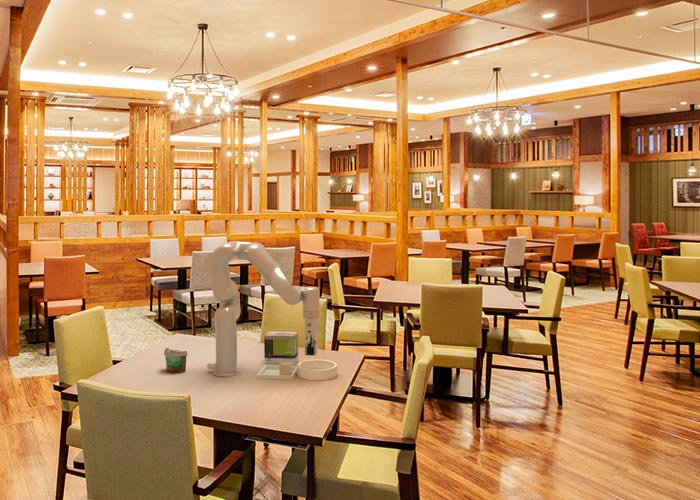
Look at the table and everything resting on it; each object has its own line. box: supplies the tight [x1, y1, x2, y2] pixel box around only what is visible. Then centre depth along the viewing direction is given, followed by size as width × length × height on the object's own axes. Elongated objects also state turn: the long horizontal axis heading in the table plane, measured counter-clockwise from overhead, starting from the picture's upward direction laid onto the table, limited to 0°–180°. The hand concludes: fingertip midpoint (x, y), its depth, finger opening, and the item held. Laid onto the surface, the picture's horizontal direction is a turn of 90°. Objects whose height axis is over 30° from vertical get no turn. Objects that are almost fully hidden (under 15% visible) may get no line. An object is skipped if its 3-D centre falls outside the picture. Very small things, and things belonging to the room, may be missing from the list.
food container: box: [163, 347, 188, 374], centre depth 281 cm, size 12×6×10 cm, turn 62°
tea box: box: [263, 331, 299, 366], centre depth 298 cm, size 15×10×15 cm
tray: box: [256, 364, 297, 381], centre depth 278 cm, size 16×16×2 cm
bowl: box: [296, 358, 338, 381], centre depth 278 cm, size 18×18×5 cm
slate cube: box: [304, 341, 319, 356], centre depth 278 cm, size 5×5×5 cm
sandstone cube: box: [278, 362, 294, 376], centre depth 278 cm, size 5×5×5 cm
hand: (311, 353), depth 278 cm, fingers closed on slate cube, 5 cm apart
